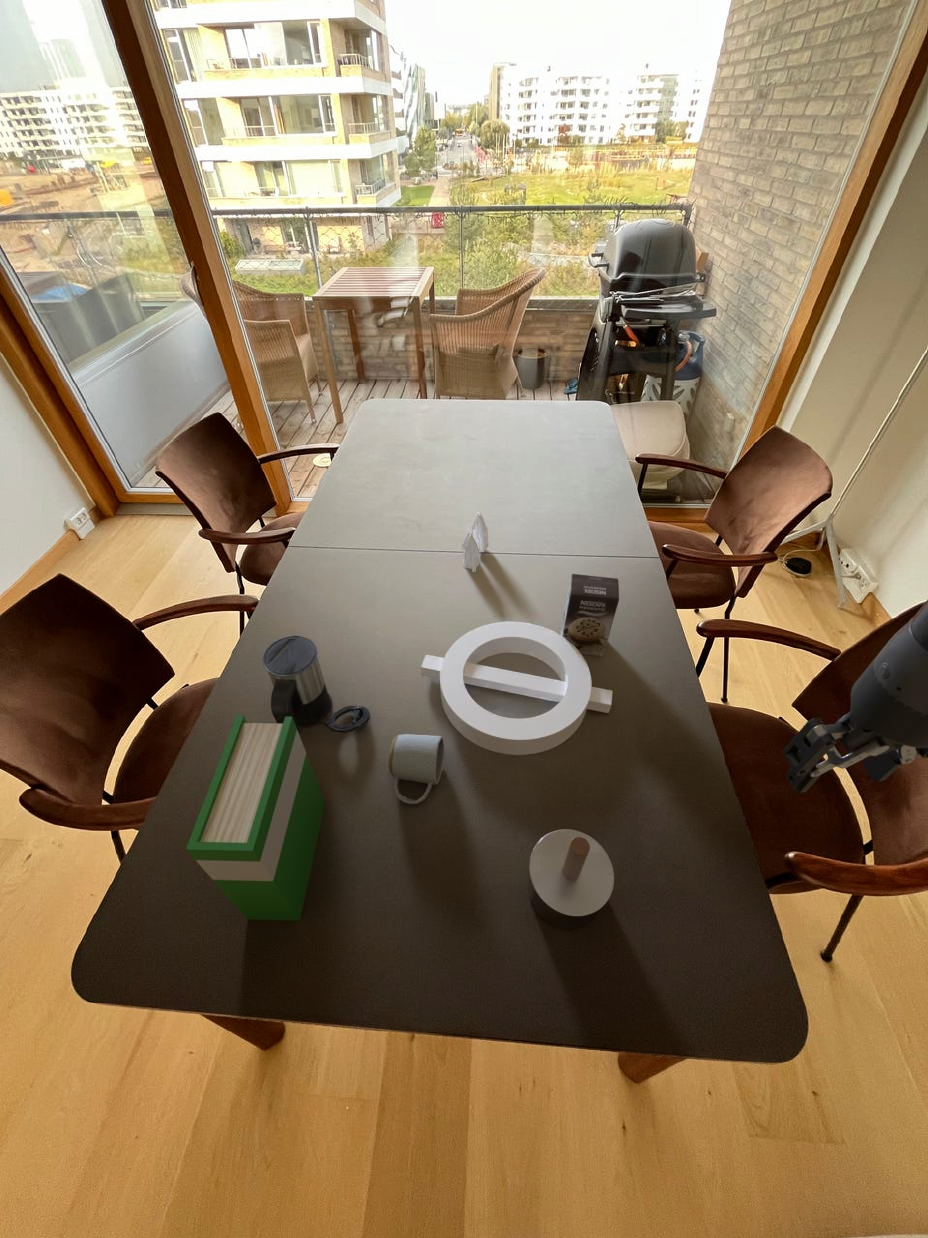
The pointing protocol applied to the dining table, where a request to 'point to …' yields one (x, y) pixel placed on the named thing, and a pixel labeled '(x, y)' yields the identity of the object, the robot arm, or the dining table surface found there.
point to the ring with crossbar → (516, 687)
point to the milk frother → (303, 687)
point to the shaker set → (475, 543)
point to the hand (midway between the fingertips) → (833, 779)
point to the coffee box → (590, 612)
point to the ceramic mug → (416, 761)
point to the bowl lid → (571, 873)
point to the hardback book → (261, 821)
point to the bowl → (556, 914)
